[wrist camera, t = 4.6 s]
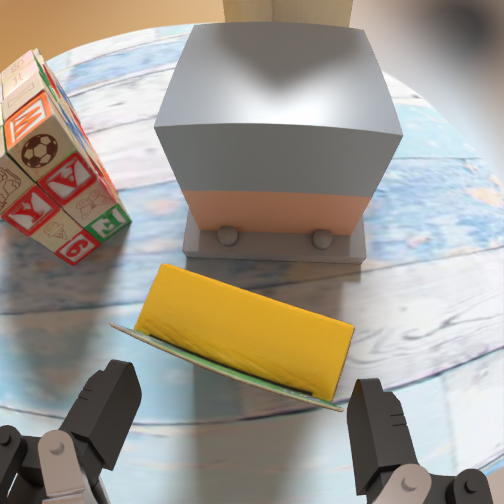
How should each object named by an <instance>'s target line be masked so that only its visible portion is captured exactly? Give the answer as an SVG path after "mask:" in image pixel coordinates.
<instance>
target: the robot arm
mask: <svg viewBox="0 0 504 504" xmlns="http://www.w3.org/2000/svg"><path fill="white" fill-rule="evenodd" d="M141 398H142V392H141V387H140V384H139V381H138V378H137V375H136V372H135V369H134V366H133V364H132V363H130V362H125V361H120V360H114V359H113V360H111V361H110V362H109V364H108V365H107V367H106V369H105V370H104V371H101V370H99V371H98V372H96V373H95V374H94V375H93V376H91V377H90V378H89V379H88V381H87V383H86V384H85V386H84V388H83V390H82V391H81V393H80V394H79V396H78V399H76V401H75V403H74V404H73V406H72V408H71V409H70V411H69V413H68V415H67V416H66V418H65V420H64V422H63V423H62V425H61V427H60V428H59V429H58V430H52V431H49V432H47V433H46V434H44V435H43V436H42V437H32V436H22V435H21V434H20V433H19V431H18V430H17V429H16V428H15V427H13V426H10V425H5V426H1V427H0V504H111V502H110V500H109V497H108V495H107V492H106V489H105V487H104V484H103V481H102V478H101V476H100V473H101V470H102V468H104V469H108V470H111V471H113V469H114V466H115V464H116V461H117V459H118V456H119V454H120V451H121V449H122V446H123V444H124V441H125V439H126V437H127V434H128V432H129V429H130V427H131V424H132V422H133V420H134V417H135V415H136V413H137V410H138V408H139V406H140V403H141ZM347 424H348V431H349V438H350V445H351V452H352V460H353V468H354V476H355V485H356V494H357V496H358V495H366V497H367V503H366V504H493V500H492V496H491V492H490V488H489V484H488V481H487V478H486V476H485V475H484V474H483V473H482V472H481V471H479V470H477V469H466V470H464V471H462V472H461V473H459V474H458V475H457V476H441V475H433V474H430V473H428V471H427V470H426V469H425V468H423V467H422V466H420V465H419V463H418V461H417V458H416V455H415V451H414V447H413V444H412V440H411V436H410V433H409V429H408V426H407V425H406V424H407V423H406V419H405V416H404V413H403V409H402V406H401V403H400V401H399V400H398V399H397V398H396V396H395V395H394V394H393V393H392V392H383V389H382V386H381V382H380V380H379V379H378V378H371V379H357V381H356V383H355V386H354V389H353V392H352V395H351V398H350V401H349V404H348V407H347ZM16 473H18V475H17V477H16V479H15V481H14V484H13V486H12V488H11V491H10V493H9V495H8V498H7V494H8V491H9V489H10V487H11V484H12V482H13V480H14V478H15V475H16Z"/></svg>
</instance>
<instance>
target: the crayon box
mask: <svg viewBox="0 0 504 504" xmlns="http://www.w3.org/2000/svg"><path fill="white" fill-rule="evenodd" d="M109 324H110V326H112V327H114V328H115V329H117V330H119V331H121V332H124V333H126V334H128V335H130V336H132V337H134V338H136V339H139V340H141V341H143V342H145V343H147V344H149V345H152V346H154V347H156V348H158V349H161V350H163V351H165V352H167V353H170V354H172V355H174V356H177V357H179V358H182V359H184V360H186V361H188V362H191V363H193V364H196V365H198V366H200V367H203V368H205V369H208V370H210V371H213V372H215V373H218V374H221V375H223V376H226V377H229V378H231V379H234V380H237V381H240V382H243V383H246V384H248V385H251V386H254V387H257V388H260V389H263V390H266V391H269V392H273V393H276V394H279V395H283V396H286V397H290V398H293V399H296V400H300V401H303V402H306V403H309V404H313V405H317V406H320V407H324V408H327V409H331V410H335V411H338V412H343V411H344V410H343V408H341V407H338V406H336V405H333V404H331V401H332V400H333V398H334V395H335V392H336V389H337V386H338V383H339V379H340V376H341V373H342V370H343V367H344V364H345V360H346V357H347V354H348V350H349V347H350V343H351V339H352V336H353V333H354V330H355V328H354V326H353V325H351V324H348V323H345V322H342V321H339V320H336V319H333V318H330V317H326V316H323V315H320V314H317V313H314V312H311V311H307V310H304V309H301V308H298V307H295V306H292V305H289V304H286V303H283V302H279V301H276V300H273V299H271V298H268V297H265V296H262V295H259V294H256V293H252V292H250V291H247V290H243V289H240V288H238V287H235V286H232V285H229V284H226V283H223V282H220V281H217V280H214V279H211V278H208V277H205V276H203V275H200V274H197V273H194V272H191V271H188V270H185V269H182V268H179V267H176V266H173V265H170V264H164V263H163V264H162V265H161V266H160V269H159V271H158V274H157V276H156V278H155V280H154V282H153V285H152V287H151V289H150V292H149V294H148V296H147V299H146V301H145V303H144V306H143V308H142V311H141V313H140V316H139V318H138V321H137V323H136V325H135V327H134V330H131V329H128V328H125V327H123V326H120V325H118V324H115V323H111V322H110V323H109Z"/></svg>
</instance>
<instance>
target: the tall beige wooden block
mask: <svg viewBox="0 0 504 504" xmlns="http://www.w3.org/2000/svg"><path fill="white" fill-rule="evenodd" d="M352 3H353V0H223V6H224V14H225V22H226V23H229V22H293V23H309V24H321V25H331V26H339V27H347V28H349V22H350V16H351V10H352Z"/></svg>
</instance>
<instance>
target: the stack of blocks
mask: <svg viewBox="0 0 504 504" xmlns="http://www.w3.org/2000/svg"><path fill="white" fill-rule="evenodd" d="M80 123H81V122H80V120H79V118H78V116H77V114H76V112H75V110H74V108H73V106H72V104H71V102H70V100H69V99H68V97H67V96H66V94H65V92H64V91H63V89H62V87H61V86H60V84H59V82H58V80H57V79H56V77H55V75H54V74H53V72H52V70H51V69H50V67H48V66H47V64H46V62H45V60H44V59H43V57H42V56H41V53H40V52H39V50H38V48H36V49H35V50H33V51H32V50H30V51H28V52H27V53H26V54H24V55H23V56H22V57H20V58H19V59H18V60H16V61H15V62H14V63H13V64H11V65H10V66H9V67H8V68H7V69H5V70H4V71H3V72H2V73H1V74H0V215H1V217H2V218H3V219H4V220H5V221H7V222H8V223H9V224H11V225H12V226H14V227H15V228H16V229H18V230H19V231H20V232H22V233H24V234H25V235H26V236H30V237H31V238H32V239H33V240H35V241H37V242H38V243H40V244H41V245H43V246H44V247H46V248H47V249H48V250H50V251H52V252H53V253H54V254H55V255H57V256H58V257H60V258H61V259H63V260H65V261H66V262H67V263H69V264H70V265H72V266H74V265H76V264H77V263H78V262H79V261H80V260H82V259H83V258H84V257H86V256H87V255H88V254H89V253H91V252H92V251H93V250H95V249H96V248H97V247H98V246H100V245H101V244H102V243H103V242H104V241H106V240H107V239H108V238H110V237H111V236H112V235H114V234H115V233H116V232H118V231H119V230H121V229H122V228H123V227H125V226H126V225H127V224H129V223H130V222H132V220H131V218H130V216H129V214H128V213H127V211H126V209H125V207H124V205H123V204H122V202H121V200H120V198H119V196H118V192H117V191H116V189H115V187H114V185H113V183H112V182H111V180H110V178H109V176H108V174H107V173H106V170H105V168H104V166H103V164H102V162H101V161H100V159H99V157H98V155H97V153H96V152H95V150H94V149H93V148H92V146H91V144H90V142H89V140H88V138H87V137H86V135H85V133H84V131H83V129H82V127H81V125H80Z"/></svg>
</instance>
